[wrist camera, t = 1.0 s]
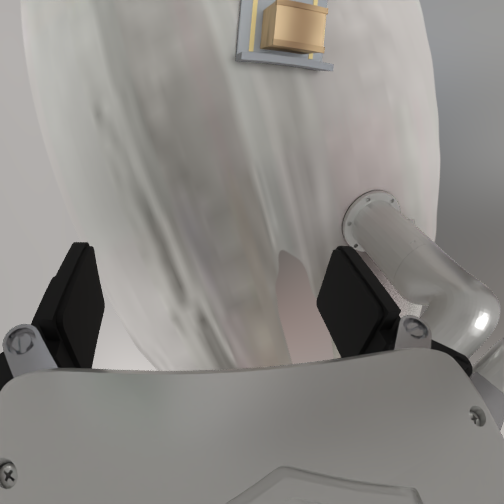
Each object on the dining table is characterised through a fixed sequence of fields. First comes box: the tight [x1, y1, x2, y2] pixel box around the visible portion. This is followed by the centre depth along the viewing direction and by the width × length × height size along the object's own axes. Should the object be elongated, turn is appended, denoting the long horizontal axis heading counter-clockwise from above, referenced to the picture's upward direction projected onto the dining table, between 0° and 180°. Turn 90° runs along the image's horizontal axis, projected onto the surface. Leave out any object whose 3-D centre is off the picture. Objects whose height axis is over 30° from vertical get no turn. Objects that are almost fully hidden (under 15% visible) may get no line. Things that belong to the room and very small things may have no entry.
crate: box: [260, 0, 328, 54], centre depth 29 cm, size 6×6×7 cm
